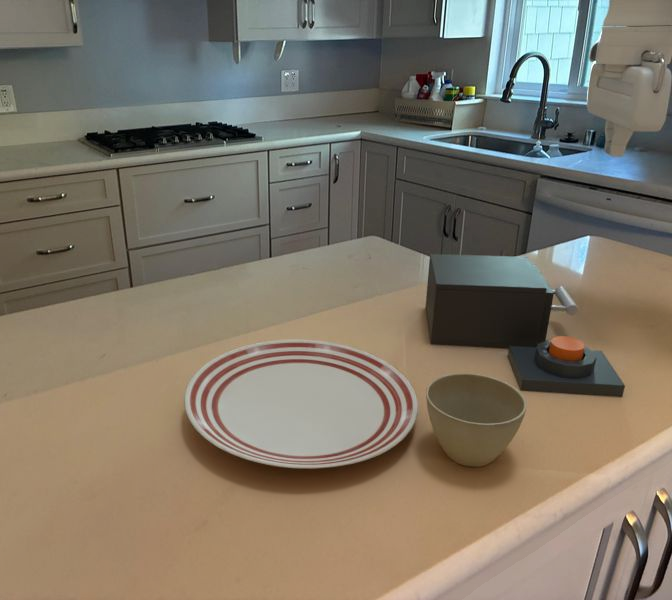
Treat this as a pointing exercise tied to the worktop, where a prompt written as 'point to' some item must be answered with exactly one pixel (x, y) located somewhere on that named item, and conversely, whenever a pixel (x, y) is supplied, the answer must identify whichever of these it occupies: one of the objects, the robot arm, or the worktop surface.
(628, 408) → the worktop surface
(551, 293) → the drawer
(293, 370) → the dinner plate
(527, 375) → the control pad
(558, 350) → the button
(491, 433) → the olive beige bowl
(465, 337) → the dark grey box
